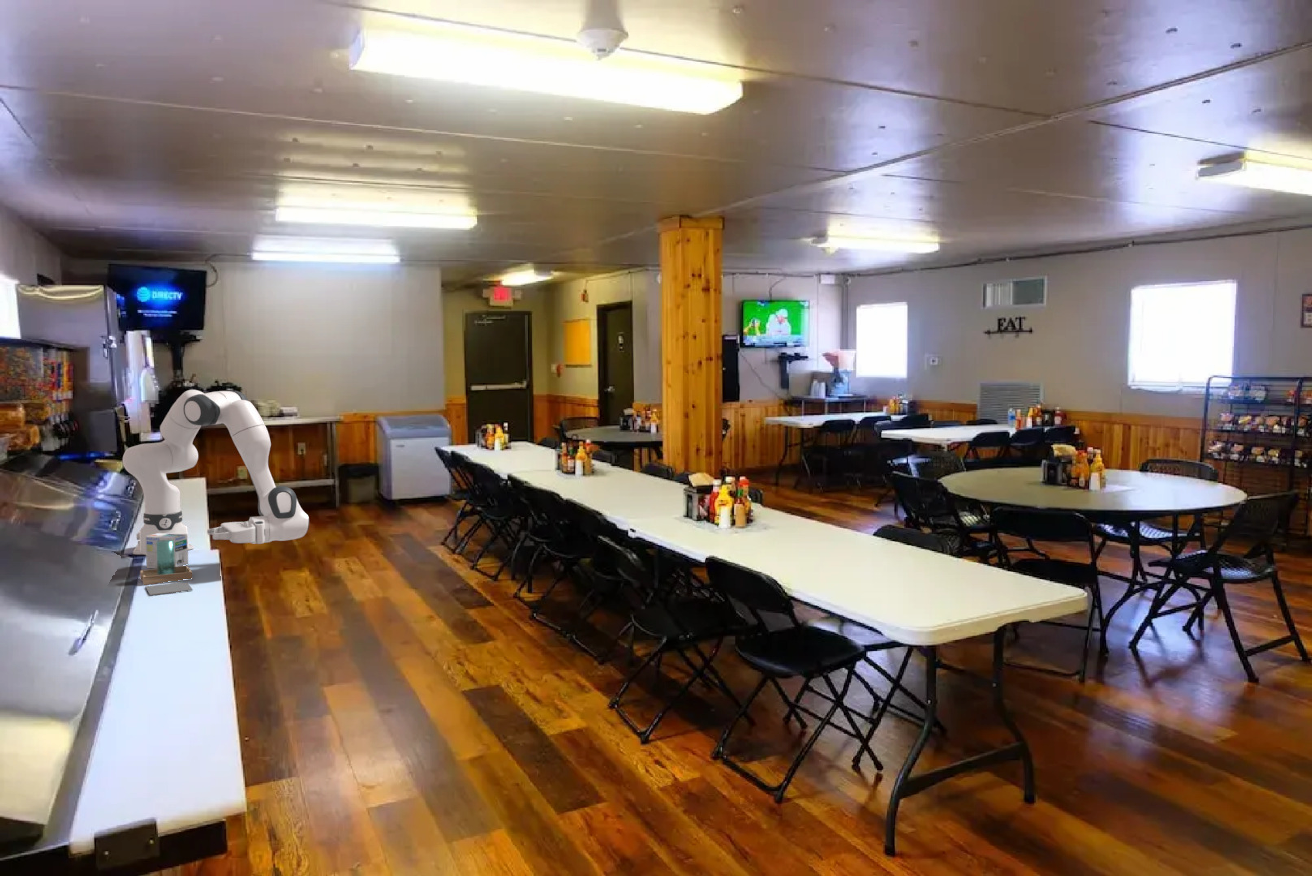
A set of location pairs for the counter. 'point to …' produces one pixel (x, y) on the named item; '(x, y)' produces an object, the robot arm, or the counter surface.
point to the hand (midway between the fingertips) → (210, 534)
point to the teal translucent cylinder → (165, 557)
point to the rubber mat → (167, 588)
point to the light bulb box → (179, 548)
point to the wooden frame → (153, 578)
